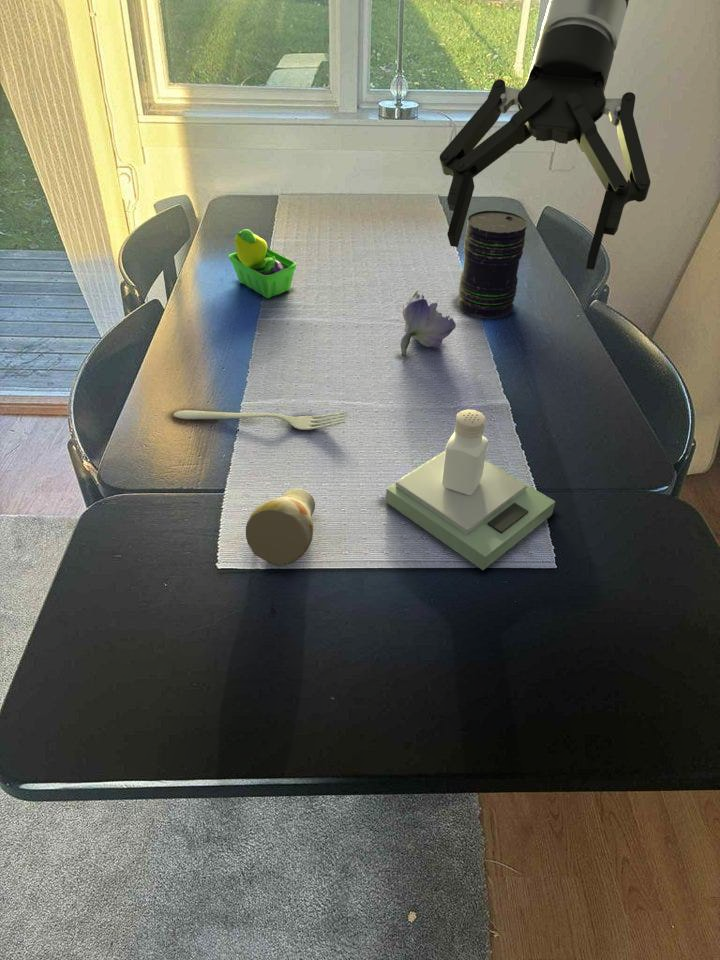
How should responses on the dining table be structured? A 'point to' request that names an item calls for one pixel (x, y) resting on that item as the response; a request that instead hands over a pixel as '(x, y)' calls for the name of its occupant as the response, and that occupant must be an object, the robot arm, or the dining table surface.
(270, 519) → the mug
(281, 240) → the dining table surface
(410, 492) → the scale
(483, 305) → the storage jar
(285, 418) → the fork
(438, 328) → the flower
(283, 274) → the fruit basket
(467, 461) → the pepper shaker
